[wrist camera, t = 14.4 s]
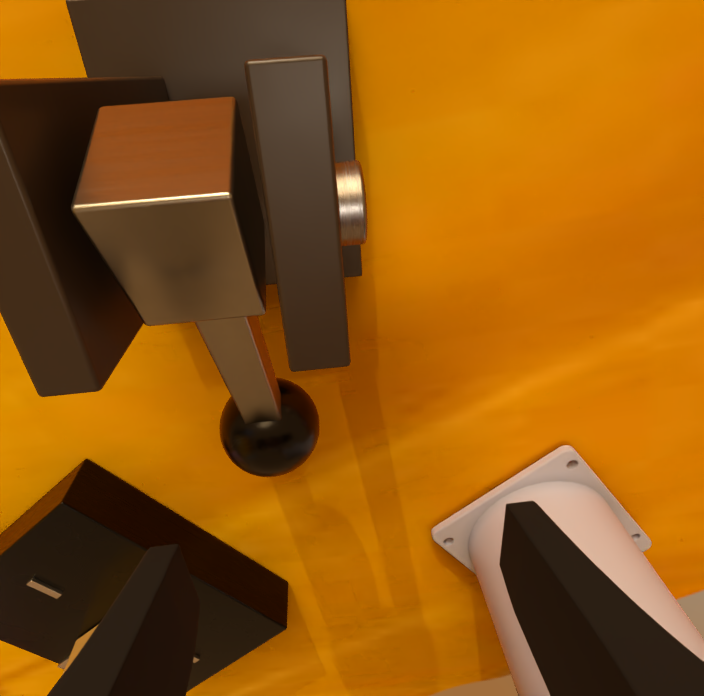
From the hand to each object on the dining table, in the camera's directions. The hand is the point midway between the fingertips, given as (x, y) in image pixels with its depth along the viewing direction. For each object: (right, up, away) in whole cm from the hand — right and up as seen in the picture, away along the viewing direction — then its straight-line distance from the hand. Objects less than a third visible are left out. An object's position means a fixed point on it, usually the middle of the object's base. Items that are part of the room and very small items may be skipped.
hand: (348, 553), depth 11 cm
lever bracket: (-3, +11, +4) cm, 12 cm away
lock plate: (-10, -6, +13) cm, 18 cm away
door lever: (-3, +6, +2) cm, 7 cm away
